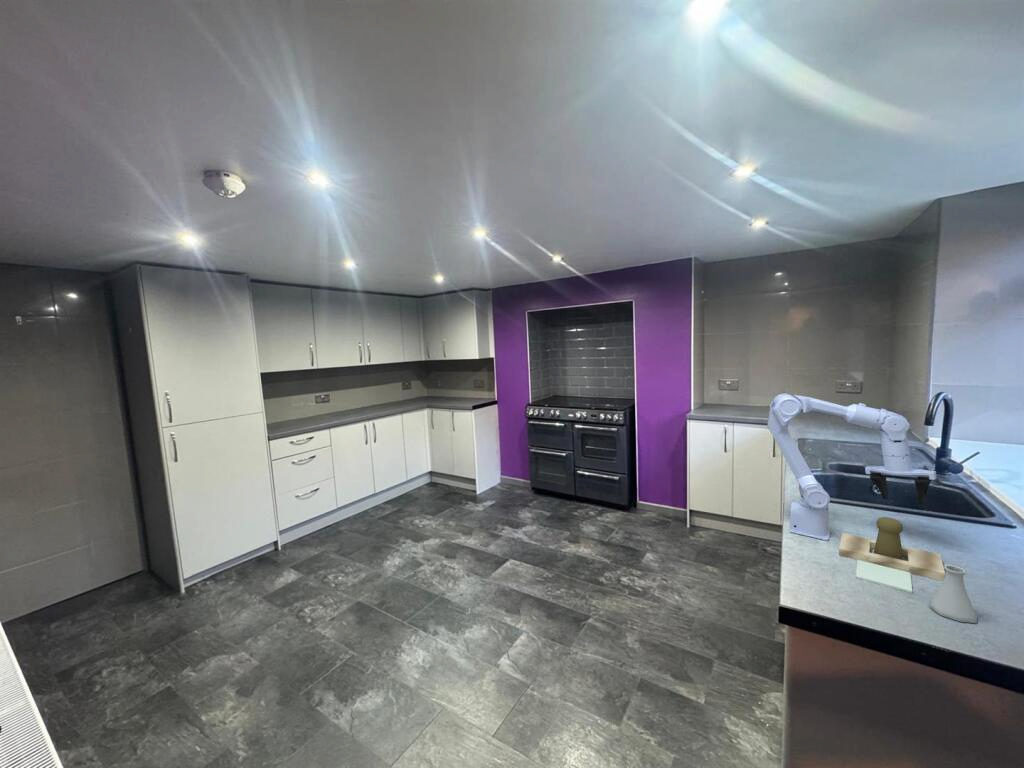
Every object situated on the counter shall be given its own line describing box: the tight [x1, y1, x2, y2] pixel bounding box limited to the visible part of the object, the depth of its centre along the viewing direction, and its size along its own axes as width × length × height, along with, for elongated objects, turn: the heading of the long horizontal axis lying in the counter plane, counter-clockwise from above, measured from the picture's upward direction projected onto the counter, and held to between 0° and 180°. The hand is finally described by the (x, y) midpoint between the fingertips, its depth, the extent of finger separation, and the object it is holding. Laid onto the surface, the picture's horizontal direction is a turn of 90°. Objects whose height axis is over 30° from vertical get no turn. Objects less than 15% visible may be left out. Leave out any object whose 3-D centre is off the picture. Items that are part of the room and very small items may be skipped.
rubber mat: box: [855, 560, 913, 594], centre depth 100 cm, size 10×10×1 cm
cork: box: [873, 516, 904, 560], centre depth 108 cm, size 6×6×11 cm
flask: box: [928, 564, 978, 624], centre depth 86 cm, size 7×7×10 cm
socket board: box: [838, 532, 946, 582], centre depth 108 cm, size 20×12×2 cm, turn 47°
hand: (903, 500), depth 114 cm, fingers open, 7 cm apart
